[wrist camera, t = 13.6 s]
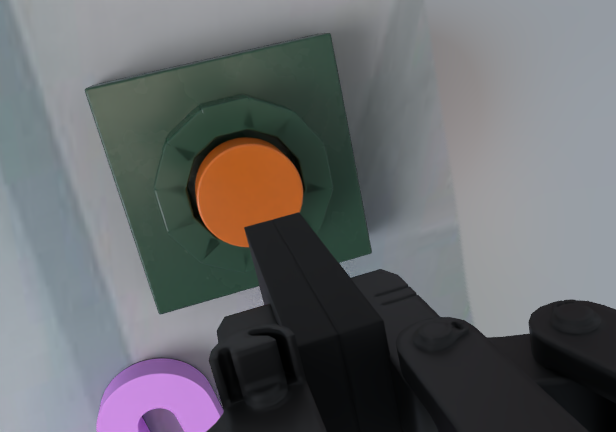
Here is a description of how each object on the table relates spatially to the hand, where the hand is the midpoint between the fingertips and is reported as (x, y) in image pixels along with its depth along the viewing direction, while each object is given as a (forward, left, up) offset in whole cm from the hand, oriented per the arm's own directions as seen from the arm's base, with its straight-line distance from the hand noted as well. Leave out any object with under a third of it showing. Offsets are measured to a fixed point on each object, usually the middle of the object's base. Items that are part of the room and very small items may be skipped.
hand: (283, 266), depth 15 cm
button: (0, 0, -8) cm, 8 cm away
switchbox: (0, 0, -12) cm, 12 cm away
